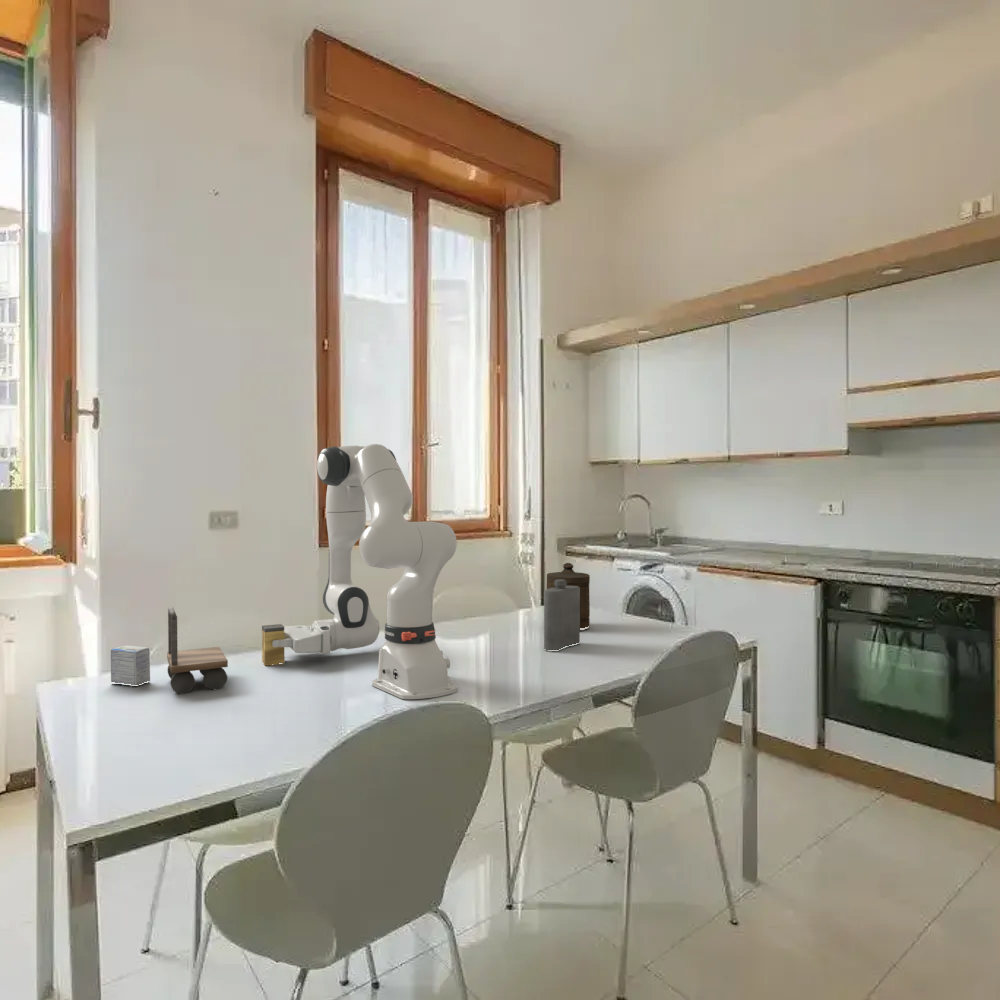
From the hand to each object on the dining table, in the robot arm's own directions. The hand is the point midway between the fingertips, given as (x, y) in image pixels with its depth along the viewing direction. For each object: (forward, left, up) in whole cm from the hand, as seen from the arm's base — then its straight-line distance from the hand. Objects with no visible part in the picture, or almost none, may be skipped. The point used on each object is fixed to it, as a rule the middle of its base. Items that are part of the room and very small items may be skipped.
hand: (269, 641), depth 186 cm
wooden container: (+2, -98, -6) cm, 98 cm away
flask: (-21, -80, -6) cm, 83 cm away
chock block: (0, -1, -6) cm, 6 cm away
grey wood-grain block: (-4, +33, -6) cm, 34 cm away
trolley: (-12, +19, -6) cm, 23 cm away
